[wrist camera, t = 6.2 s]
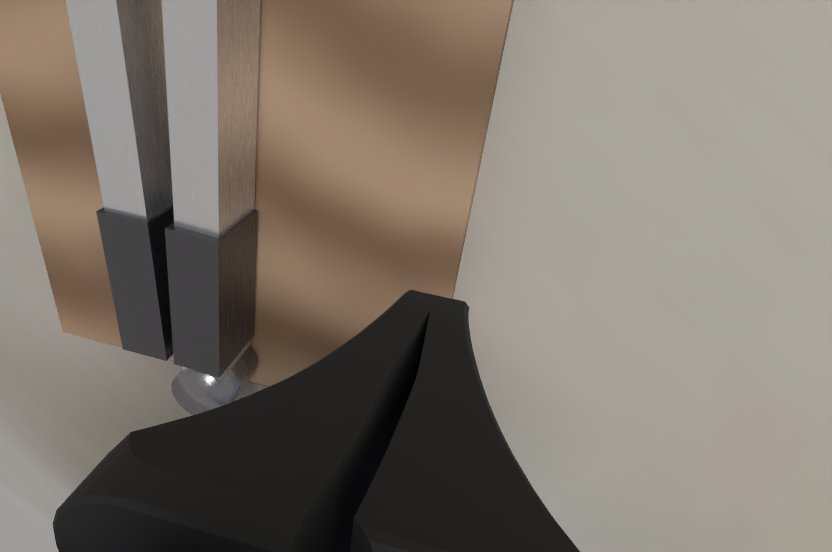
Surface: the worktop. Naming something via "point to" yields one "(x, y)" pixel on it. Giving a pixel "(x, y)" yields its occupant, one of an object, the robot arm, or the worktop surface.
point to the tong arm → (212, 195)
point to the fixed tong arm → (130, 158)
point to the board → (290, 161)
